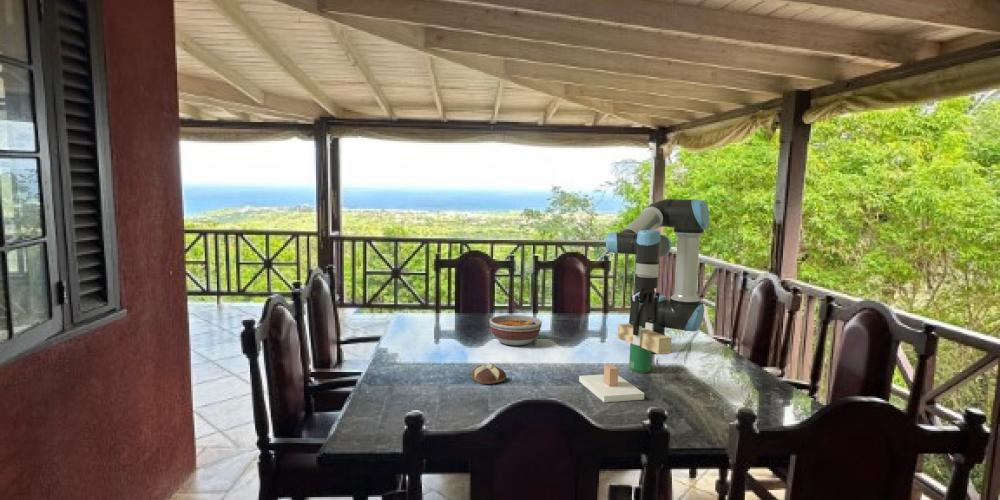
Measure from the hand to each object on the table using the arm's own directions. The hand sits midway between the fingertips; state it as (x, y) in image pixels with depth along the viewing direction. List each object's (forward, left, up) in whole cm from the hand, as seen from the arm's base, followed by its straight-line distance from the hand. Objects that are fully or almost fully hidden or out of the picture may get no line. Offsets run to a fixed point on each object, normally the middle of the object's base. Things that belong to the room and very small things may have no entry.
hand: (642, 343), depth 186 cm
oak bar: (0, 0, -1) cm, 1 cm away
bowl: (+27, -62, -16) cm, 69 cm away
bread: (+50, -16, -16) cm, 55 cm away
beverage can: (-9, -17, -16) cm, 25 cm away
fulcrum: (+12, +1, -15) cm, 19 cm away
